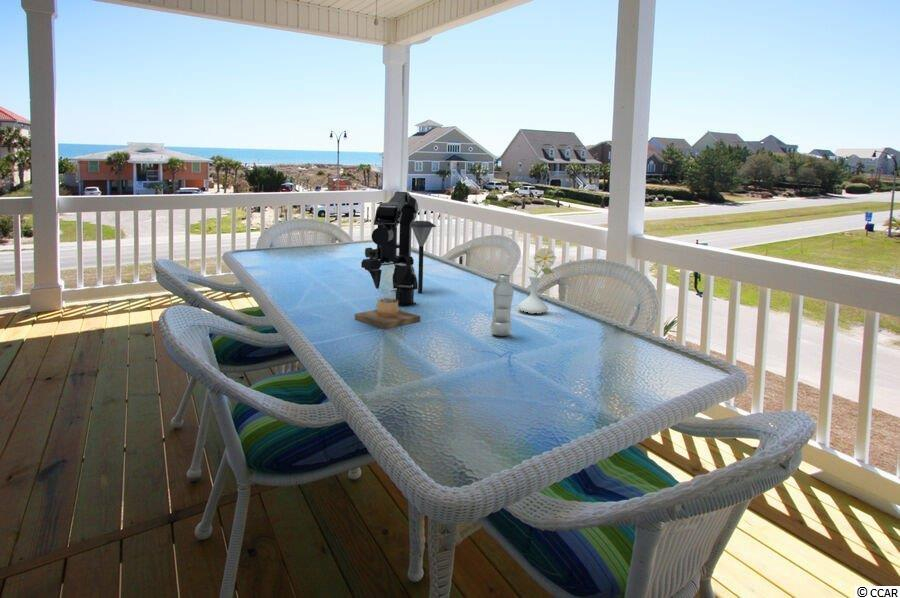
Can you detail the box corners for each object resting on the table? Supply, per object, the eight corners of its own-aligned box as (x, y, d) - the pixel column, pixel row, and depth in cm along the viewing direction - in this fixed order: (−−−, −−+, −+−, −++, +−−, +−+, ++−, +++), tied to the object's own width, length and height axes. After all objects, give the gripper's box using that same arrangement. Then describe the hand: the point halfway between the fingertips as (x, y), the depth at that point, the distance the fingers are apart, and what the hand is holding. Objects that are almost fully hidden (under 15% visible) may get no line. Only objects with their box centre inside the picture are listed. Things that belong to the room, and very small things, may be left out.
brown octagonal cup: (389, 311, 214) (389, 297, 213) (402, 315, 209) (402, 301, 208) (373, 314, 209) (373, 300, 208) (386, 318, 204) (386, 304, 203)
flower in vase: (513, 313, 225) (517, 247, 220) (522, 307, 236) (526, 243, 230) (548, 318, 221) (553, 250, 215) (555, 311, 231) (560, 246, 225)
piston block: (390, 312, 221) (390, 292, 219) (420, 321, 210) (420, 300, 208) (354, 319, 210) (354, 298, 208) (384, 329, 199) (384, 307, 197)
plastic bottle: (488, 332, 199) (491, 272, 195) (509, 332, 200) (512, 273, 195) (491, 338, 193) (494, 276, 188) (512, 338, 193) (516, 277, 189)
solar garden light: (402, 294, 250) (403, 222, 243) (409, 289, 262) (410, 219, 255) (431, 297, 248) (433, 223, 241) (437, 290, 260) (439, 220, 253)
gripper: (394, 237, 216) (393, 280, 219) (351, 240, 203) (351, 286, 206) (415, 240, 208) (414, 285, 211) (371, 244, 195) (371, 291, 198)
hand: (387, 287), depth 207 cm, fingers open, 9 cm apart
